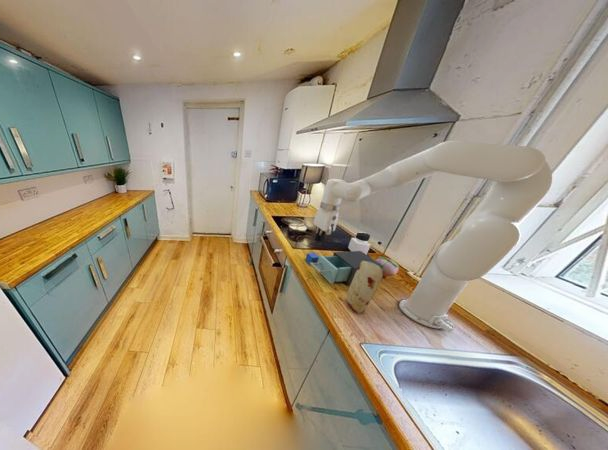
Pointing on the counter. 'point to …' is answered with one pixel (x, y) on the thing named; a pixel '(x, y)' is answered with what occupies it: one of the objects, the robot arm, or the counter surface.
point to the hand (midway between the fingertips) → (318, 240)
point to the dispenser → (354, 261)
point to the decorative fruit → (388, 266)
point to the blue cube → (312, 258)
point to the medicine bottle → (360, 243)
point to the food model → (363, 285)
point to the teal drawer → (332, 268)
